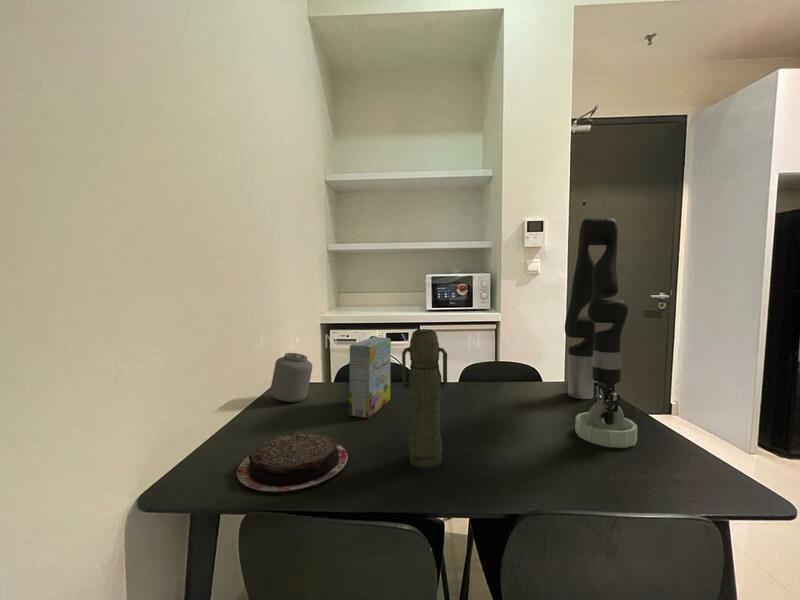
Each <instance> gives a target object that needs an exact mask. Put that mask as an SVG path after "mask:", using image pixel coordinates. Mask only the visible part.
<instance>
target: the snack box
mask: <svg viewBox="0 0 800 600" xmlns="http://www.w3.org/2000/svg"><path fill="white" fill-rule="evenodd" d="M391 341H392V339H391V338H390V337H377V336H376V337H375V336H374V337H370V338H368V339H364V340H361V341H359V342H355V343H353V344H351V345H349V398H348V399H349V401H348V403H349V405H348V406H349V407H348V409H349V412H348V414H349V416H350V417H351V416H352V417H356V418H365V419H370V418H371V417H372V416H373V415H374V414H376V413H377V412H378V411H379V410H380V409H382V406H383V407H384V406H385V405H386V404H387V403H388V401H389V400H390V401H391V359H392V357H391V351H392V350H391V348H392V347H391V345H392V343H391ZM390 401H389V402H390Z"/></svg>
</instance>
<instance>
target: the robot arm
mask: <svg viewBox="0 0 800 600" xmlns="http://www.w3.org/2000/svg"><path fill="white" fill-rule="evenodd" d="M579 228H580V229H579V234H578V235H579V236H578V248H577V258H576V264H575V270H574V274H573V278H572V285H571V293H570V301H569V306H568V310H567V314H566V318H565V320H564V322H565V323H564V333H565V335H566V337H568V338H573V339H583V340H582V341H580V342H579V343H577V344H574V345H570V346H569V347H568V372H567V373H568V374H567V375H568V378H567V379H568V380H567V381H568V385H567V386H568V387H567V393H568V396H569V397H571V398H574V399H580V400H591V399H593V398H594V401H595V402H596V403H597V402H600V401H602V403H603V404H604V408H605V412H604V413H603V414H602V415H601V418H605V423H606V424H611V425H612V424H613V417H614V412H618V406H619V404H620V398H621V395H620V394H619V393H617V391H616V388H615V386H616V385H615V384H619V383H620V382H621V380H622V379H621V378H622V376H621V375H622V371H621V370H622V358H621V357H622V356H621V338H622V333H623V329H624V327H625V323H626V321H627V318H628V314H629V306H628V305H627V303H626V302H625V301H624V300H621V299H610V298H613V297H615V296H617V294H618V293H619V283H618V281H619V280H618V276H617V275H618V273H617V258H618V257H617V256H618V238H619V237H618V233H619V230H618V229H619V228H618V223H617V221H616V219H615V218H612V217H590V218H589V217H588V218H587V217H586V218H584V219H583V220H582V222H581V224H580V227H579ZM590 246H606V247H605V251H604V252H603V254H602V255H601V257H600V258H599V259H598V261H596V263H595V261H594V260H593V258H592V256H591V254H590V251H589V248H590ZM588 304H589V305H588ZM587 306H588V307H587ZM585 307H587V315H586V314H585V315H582V314H580V313H581V312H582V310H583V309H584V308H585ZM596 323H597V324H612V326H610V328H607V329H604V330H602V329H601V330H597V331H596ZM607 404H608V406H607Z"/></svg>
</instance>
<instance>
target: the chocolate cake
mask: <svg viewBox="0 0 800 600" xmlns="http://www.w3.org/2000/svg"><path fill="white" fill-rule="evenodd" d="M348 455H349V454H348V453H347V451H346V449H345V448H344V447H342V445H340V444H338V443H337V439H336V438H334V437H331V438H329V437H328V436H325V435H320V434H316V433H315V434H314V433H309V432H291V433H287V434H286V435H282V436H278V437H276V438H274V439H272V440H269V441H266V442H264V443H261V444H260V446H258V447H257V448H256V449H254V450H252V451H251V452H249V454H248V456H247V457H246V458H244V459H243V460H242V461H241V463H240V464H239V466H238V467H237V470H236V478H237V480H238V481H239V483H240V484H241V485H242V486H244V487H247V488H248V489H249V488H250V489H252V490H257V491H258V492H260V493H262V494H290V493H301V492H302V491H304V490H305V489H307V488H313V487H314V488H315V487H319V486H321V485H323V484H324V483H326V481H327V480H331V479H334V478H335V479H336V478H337V476H338V474H339V473H340V472H341V471H342V470H343V469H344V468H345V467H346V465H347V462H348V460H349V456H348Z"/></svg>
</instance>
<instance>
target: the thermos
mask: <svg viewBox="0 0 800 600" xmlns="http://www.w3.org/2000/svg"><path fill="white" fill-rule="evenodd" d="M440 352H441V353H442V374H441V371H440V365H439V361H440ZM407 353H409V360H410V365H409V372H408V375H407V378H406V374H407V372H406V370H407V369H406V354H407ZM401 358H402V359H401V364H402V365H401V367H402V370H401V371H402V372H401V373H402V375H401V376H402V387H403V388H406V389H407V393H408V398H409V413H410V414H409V420H410V423H409V425H410V430H409V435H408V442H407V443H408V453H409V457H408V460H409V463H410V464H411V466H414V467H415V468H419V469H435V468H438V466H440V465H441V464H442V462H443V461H442V454H443V440H442V437H441V411H440V410H441V403H440V402H441V401H440V400H441V398H442V394H443V393H442V392H443V391H442V390H443V388H446V386H448V353H447V351H446V349H444V347H440V342H439V337H438V334H437V332H436V331H435V330H433V329H430V328H429V329H426V328H423V329H415V330H414V331H413V332H412V334H411V337H410V341H409V346H408V347H405V348H404V349H403V351H402V352H401ZM406 379H407V380H406Z"/></svg>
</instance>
